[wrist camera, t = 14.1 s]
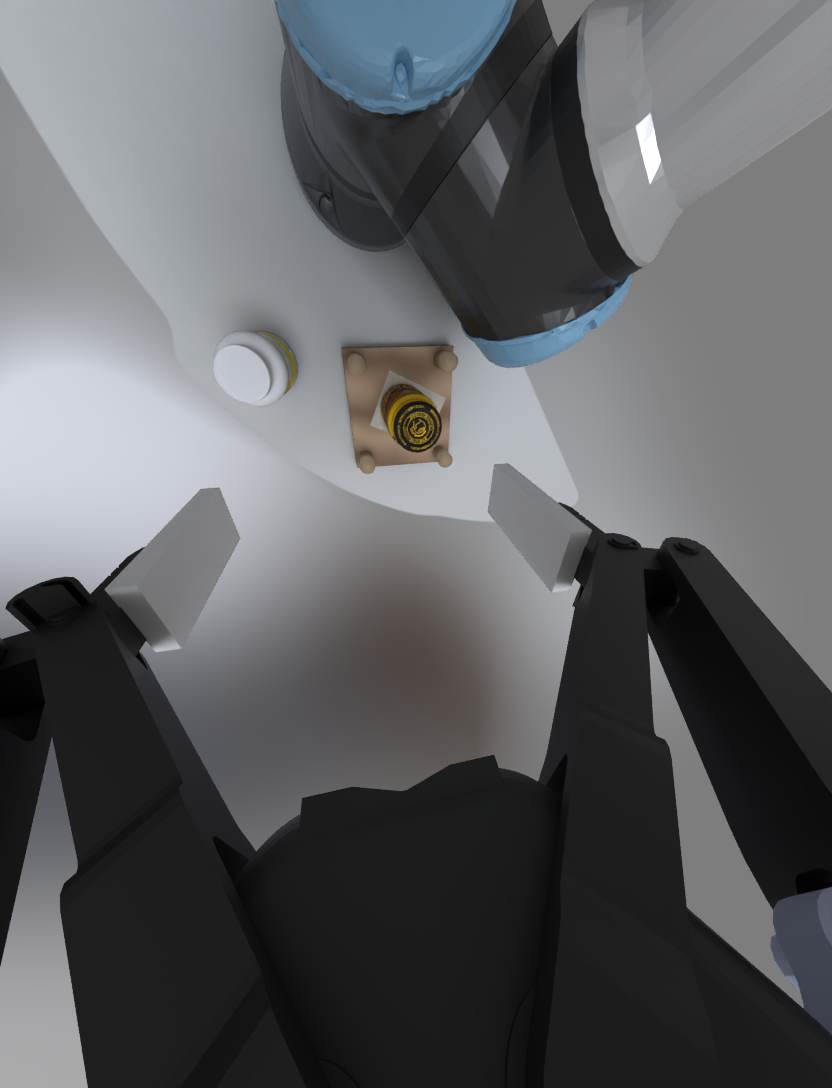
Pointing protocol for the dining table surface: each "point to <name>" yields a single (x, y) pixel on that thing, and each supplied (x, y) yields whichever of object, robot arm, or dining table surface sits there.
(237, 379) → the supplement bottle
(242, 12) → the dining table surface
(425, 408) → the condiment
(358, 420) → the peg holder
